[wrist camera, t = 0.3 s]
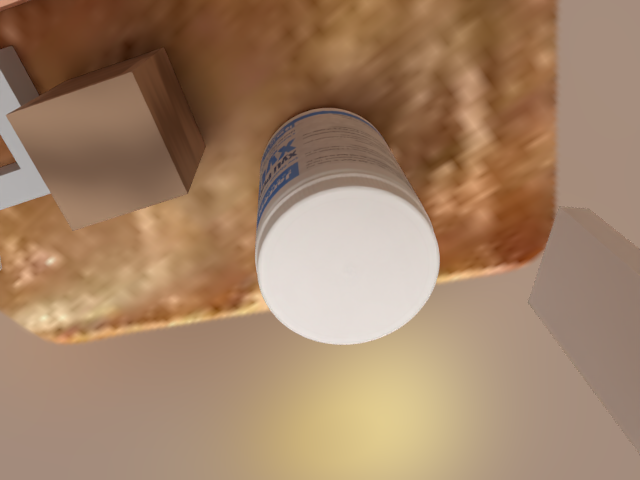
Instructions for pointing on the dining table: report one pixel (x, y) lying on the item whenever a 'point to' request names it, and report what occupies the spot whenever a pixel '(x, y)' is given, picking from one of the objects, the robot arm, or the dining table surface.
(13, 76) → the socket grey
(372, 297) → the supplement tub
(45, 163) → the brown rectangular block
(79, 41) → the dining table surface
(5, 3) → the socket terracotta
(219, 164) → the dining table surface
